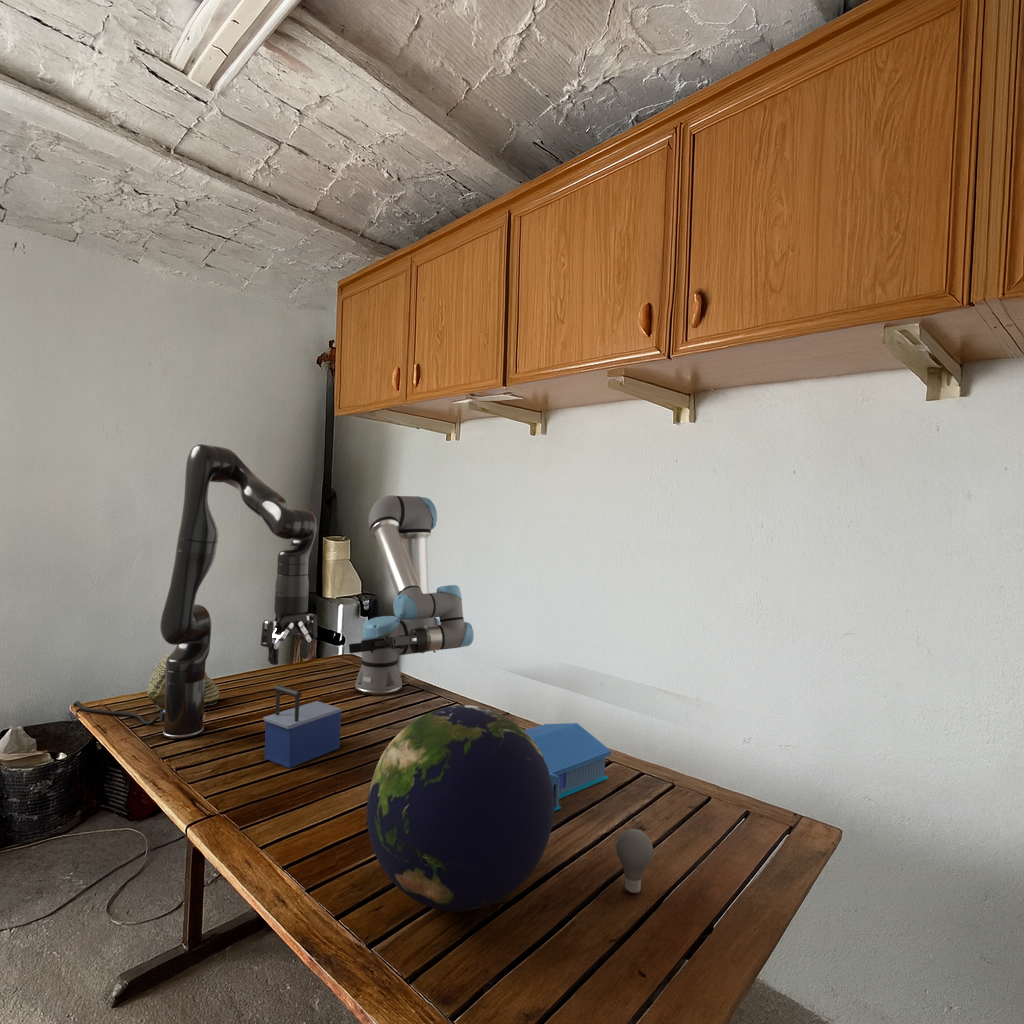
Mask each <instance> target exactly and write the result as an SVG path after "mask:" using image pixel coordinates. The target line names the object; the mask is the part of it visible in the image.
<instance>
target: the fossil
mask: <svg viewBox="0 0 1024 1024" xmlns="http://www.w3.org/2000/svg"><path fill="white" fill-rule="evenodd" d="M169 655H170V654H165V655H164V656H163V657H162V658H161V659H160V660H159V662H158V663H157V666H156V667H155V669H154V670H153V672H152V675H151V677H150V680H149V684H148V688H147V697H148V699H149V700H150V701H152V703H153V704H154V706H155V711H158V712H160V711H164V705H165V674H166V659H167V658H168V656H169ZM220 698H221V696H220V690H219V688H218V686H217V685H216V683H215V682H214V681H213V679H212V678H211V677H209V675H208V674H207V672H206V671H205V693H204V707H207V706H213V705H215V704H217V703H218V701H219V699H220Z"/></svg>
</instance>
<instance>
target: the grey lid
mask: <svg viewBox="0 0 1024 1024" xmlns="http://www.w3.org/2000/svg"><path fill="white" fill-rule="evenodd" d="M273 689H274V690H273V691H275V713H272V714H270V715H266V716H263V717H262V719H263V722H265V723H266V722H269V723H272V724H275V725H278V726H280V727H283V728H286V729H291V728H294V727H296V726H299V725H302V724H305V723H308V722H311V721H314V720H317V719H320V718H323V717H326V716H329V715H332V714H335V713H338V712H341V713H342V708H341V707H338V706H335V705H331V704H328V703H326V702H322V701H318V700H315V701H312V702H309V703H305V704H302V705H300V698H301V697H302V692H301V691H300V690H297V689H293V688H290V687H287V686H283V685H280V684H276V685H275V686H274V688H273ZM281 694H283V695H287V696H290V697H293V698H294V707H292V708H288V709H285V710H282V711H280V709H281V707H280V706H281Z"/></svg>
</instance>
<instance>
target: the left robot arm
mask: <svg viewBox="0 0 1024 1024" xmlns="http://www.w3.org/2000/svg"><path fill="white" fill-rule="evenodd" d="M184 476H185V477H184V495H183V496H184V497H183V505H182V514H181V519H180V520H181V521H180V526H179V531H178V535H177V536H178V537H177V542H176V548H175V557H174V562H173V567H172V572H171V578H170V585H169V589H168V593H167V596H166V600H165V604H164V606H163V610H162V613H161V618H160V623H159V625H160V626H159V631H160V634H161V636H162V638H163V640H164V641H165V642H166V643H167V644H169V645H172V646H175V648H174V649H173V651H172V652H171V653H170V654H168V655H169V656H168V658H167V659H166V674H165V705H164V710H162V711H159V714H158V715H156V716H155V717H153V719H152V720H150V721H149V720H146V719H145V718H144V716H142V715H140V714H138V713H135V712H128V711H117V710H108V709H98V708H92V707H86V706H84V705H82V703H81V702H80V701H79V700H75V702H73V704H72V706H73V707H76V706H77V708H79V709H80V710H82V711H84V712H89V713H96V714H105V715H113V716H126V717H133V718H136V719H138V720H139V721H140V722H141V723H142V724H144V725H146V726H147V725H148V726H151V725H154V724H155V723H156V722H157V721H158V720H159V721H160V722H161V723H163V730H162V737H164V738H166V739H169V740H185V739H190V738H191V739H192V738H194V737H197V736H199V735H202V734H203V732H204V730H205V729H204V726H205V725H204V722H205V721H204V719H205V718H206V713H205V706H204V693H205V672H206V664H207V663H206V662H207V658H208V656H209V653H210V649H211V648H210V647H211V639H212V617H211V614H210V612H209V610H208V609H207V608H206V607H205V606H203V605H201V604H196V598H197V594H198V591H199V588H200V587H201V585H202V583H203V581H204V580H205V578H206V576H207V575H208V573H209V571H210V570H211V568H212V566H213V564H214V561H215V559H216V554H217V548H218V542H219V529H218V526H217V523H216V521H215V518H214V516H213V514H212V511H211V508H210V505H209V489H210V483H217V484H219V483H224V484H226V485H228V486H231V487H233V488H235V489H236V490H237V491H238V492H239V494H240V498H241V500H242V502H243V503H244V505H245V506H246V507H247V509H249V510H250V511H251V512H253V513H254V514H256V515H257V516H258V517H259V518H261V519H262V520H263V522H264V524H265V525H266V527H267V528H268V529H269V531H270V532H271V534H273V535H274V536H276V537H277V538H279V539H281V540H290V543H289V546H288V547H286V548H282V549H281V550H280V551H279V552H278V553H277V560H276V578H275V582H274V609H273V612H274V614H275V617H274V620H266V619H264V620H263V621H262V625H261V637H260V646H261V647H265V648H267V649H268V655H267V656H268V657H267V660H268V663H269V664H270V665H273V666H276V665H278V664H279V655H280V654H279V652H280V648H279V647H280V645H281V644H282V642H284V641H285V639H286V638H291V637H292V636H298V638H299V639H300V642H299V657H300V659H301V658H302V659H308V657H309V655H310V643H311V642H312V640H316V639H317V638H318V615H317V614H315V613H310V612H309V613H308V609H309V587H310V586H309V575H308V574H309V557H310V554H311V551H312V548H313V544H314V541H315V538H316V535H317V530H318V526H317V525H318V524H317V518H316V517H315V515H314V513H313V512H312V511H310V510H308V509H304V508H303V509H302V508H301V509H297V508H296V509H295V508H294V509H293V508H291V509H290V508H288V502H287V500H286V499H285V498H284V497H283V496H282V495H281V494H279V493H278V492H277V491H276V490H274V489H273V488H272V487H270V486H269V485H267V484H266V483H265V482H264V481H262V480H261V479H260V478H259V477H257V476H256V474H255V473H253V471H252V470H251V469H250V468H249V467H248V466H247V465H246V464H245V463H244V462H243V460H241V458H240V457H239V455H237V454H236V453H235V452H234V451H232V450H231V449H229V448H226V447H222V446H217V445H211V444H204V443H203V444H202V443H200V444H195V445H194V446H193V447H192V448H191V449H190V451H189V453H188V455H187V460H186V465H185V475H184ZM305 625H306V626H305Z"/></svg>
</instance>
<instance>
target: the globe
mask: <svg viewBox="0 0 1024 1024" xmlns="http://www.w3.org/2000/svg"><path fill="white" fill-rule="evenodd" d="M524 730H525V729H523V728H522V727H521V726H520V725H518V723H516V722H514V721H513V720H512V719H510V718H508V717H507V716H505V715H503V714H501V713H499V712H497V711H494V710H493V709H489V708H485V707H482V706H477V705H469V704H468V705H467V704H465V705H452V706H446V707H442V708H438V709H435V710H432V711H429V712H428V713H425V714H423V715H422V716H419V717H417V718H416V719H415V720H413V721H411V722H409V724H407V725H406V726H405V727H404V728H402V729H401V731H399V733H398V734H396V736H395V737H394V738H393V739H392V740H391V741H390V742H389V743H388V745H387V747H385V749H384V751H382V754H381V755H380V758H379V760H378V762H377V763H376V766H375V769H374V771H373V774H372V777H371V780H370V783H369V787H368V788H369V789H368V794H367V801H366V822H367V832H368V836H369V840H370V844H371V847H372V851H373V853H374V855H375V857H376V859H377V861H378V864H379V865H380V867H381V869H382V870H383V872H384V873H385V875H386V876H387V877H388V878H389V880H390V881H391V883H393V884H394V885H395V886H396V887H397V888H398V890H400V891H401V892H402V893H404V894H405V895H406V896H408V897H409V898H410V899H412V900H413V901H415V902H417V903H419V904H421V905H424V906H426V907H428V908H429V907H430V908H431V909H436V910H439V911H445V912H455V913H456V912H471V911H475V910H479V909H483V908H486V907H489V906H491V905H494V904H496V903H499V902H500V901H502V900H503V899H505V898H506V897H508V896H509V895H511V894H512V893H514V892H515V891H516V890H517V889H518V888H519V887H520V886H522V885H523V884H524V882H526V880H527V879H528V878H529V877H530V875H532V873H533V871H534V870H535V869H536V867H537V866H538V864H539V863H540V860H541V859H542V857H543V855H544V853H545V850H546V848H547V846H548V843H549V841H550V837H551V833H552V827H553V823H554V814H555V811H554V794H553V786H552V782H551V777H550V774H549V770H548V767H547V765H546V763H545V760H544V757H543V755H542V753H541V752H540V750H539V748H538V747H537V745H536V744H535V742H534V741H533V740H532V739H531V737H530V736H529V735H528V734H527V733H526V732H525V731H524Z"/></svg>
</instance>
